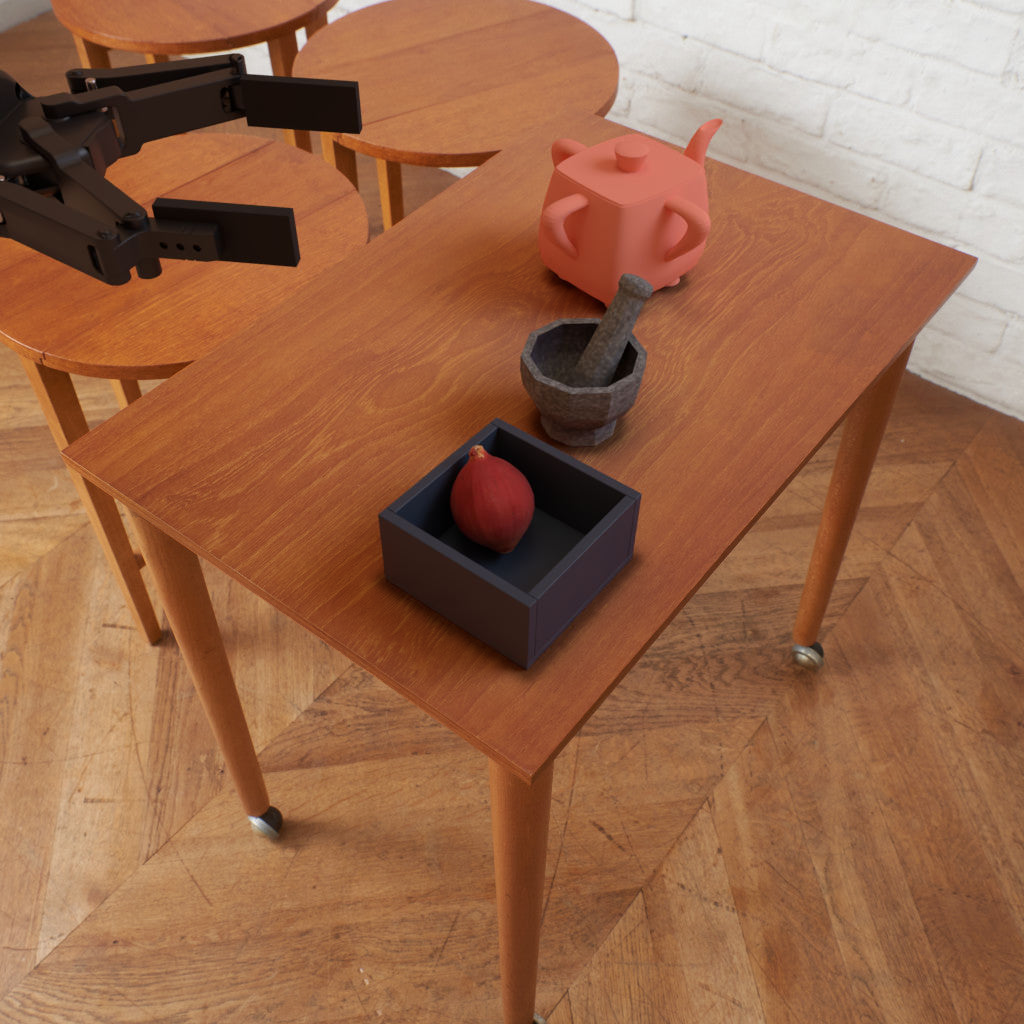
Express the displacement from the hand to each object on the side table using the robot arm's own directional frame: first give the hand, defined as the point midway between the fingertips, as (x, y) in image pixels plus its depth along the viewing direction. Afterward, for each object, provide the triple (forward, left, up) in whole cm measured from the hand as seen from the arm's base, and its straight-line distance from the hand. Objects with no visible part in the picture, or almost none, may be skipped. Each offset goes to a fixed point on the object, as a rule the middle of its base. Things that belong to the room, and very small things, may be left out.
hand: (330, 167), depth 54 cm
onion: (+9, -2, -29) cm, 30 cm away
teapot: (+23, +35, -30) cm, 52 cm away
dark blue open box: (+10, -2, -30) cm, 31 cm away
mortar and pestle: (+17, +14, -30) cm, 37 cm away
